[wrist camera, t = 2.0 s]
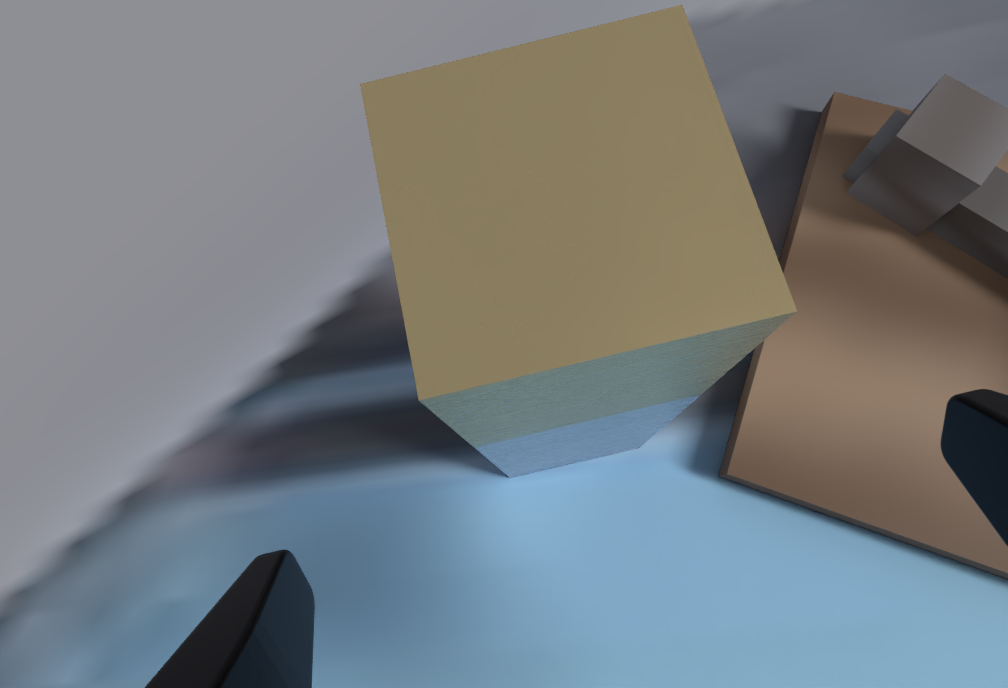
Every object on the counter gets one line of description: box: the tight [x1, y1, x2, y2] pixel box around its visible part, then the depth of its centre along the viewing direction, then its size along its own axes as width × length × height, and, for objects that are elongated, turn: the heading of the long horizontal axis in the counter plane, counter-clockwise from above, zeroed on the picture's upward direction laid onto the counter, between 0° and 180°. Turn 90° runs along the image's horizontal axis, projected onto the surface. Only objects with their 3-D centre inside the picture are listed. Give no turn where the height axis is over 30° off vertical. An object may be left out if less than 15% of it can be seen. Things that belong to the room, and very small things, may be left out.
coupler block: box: [360, 5, 797, 478], centre depth 13 cm, size 4×4×13 cm
